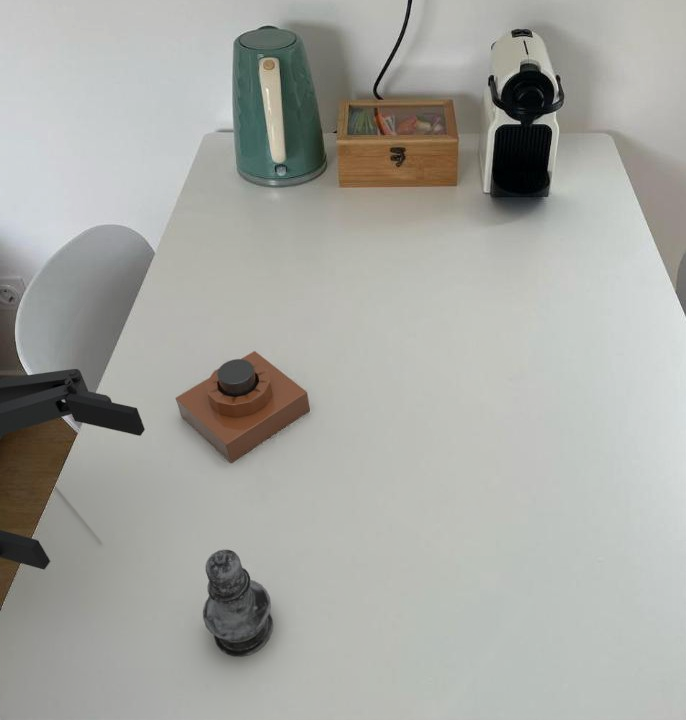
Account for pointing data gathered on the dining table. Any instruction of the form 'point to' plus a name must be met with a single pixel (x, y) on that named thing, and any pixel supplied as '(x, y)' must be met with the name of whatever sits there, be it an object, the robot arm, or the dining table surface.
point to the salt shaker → (236, 606)
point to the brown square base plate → (243, 409)
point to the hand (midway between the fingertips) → (94, 483)
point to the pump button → (237, 378)
